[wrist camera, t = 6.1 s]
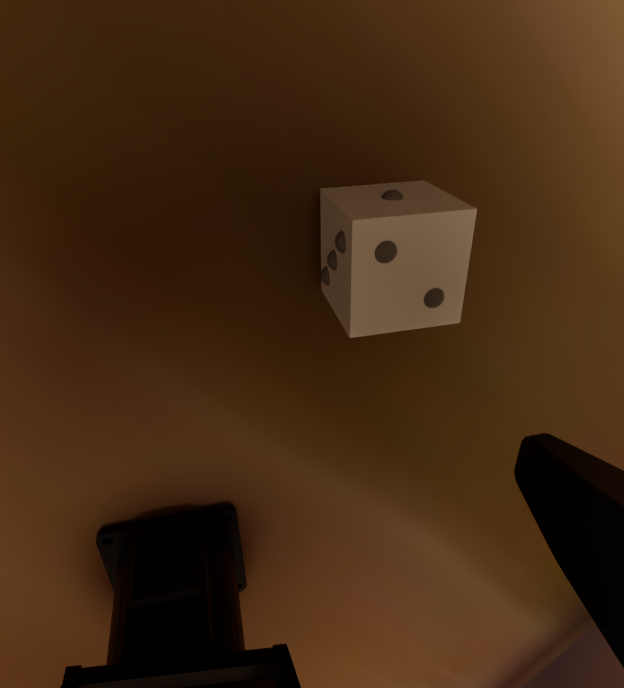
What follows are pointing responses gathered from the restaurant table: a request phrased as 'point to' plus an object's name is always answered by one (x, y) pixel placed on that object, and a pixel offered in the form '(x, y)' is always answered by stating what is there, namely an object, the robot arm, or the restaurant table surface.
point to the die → (394, 255)
